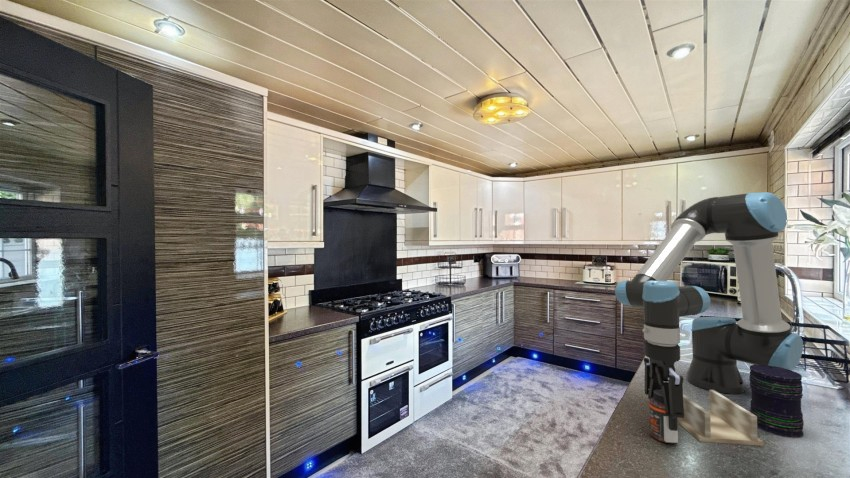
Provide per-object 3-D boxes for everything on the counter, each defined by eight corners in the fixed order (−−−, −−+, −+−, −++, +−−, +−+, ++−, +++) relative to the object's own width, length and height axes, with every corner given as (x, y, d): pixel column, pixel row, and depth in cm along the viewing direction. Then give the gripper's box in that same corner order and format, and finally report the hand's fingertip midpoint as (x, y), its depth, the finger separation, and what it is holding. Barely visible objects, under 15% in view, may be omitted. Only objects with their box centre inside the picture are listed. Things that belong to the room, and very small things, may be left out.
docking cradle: (665, 411, 99) (665, 387, 99) (719, 414, 97) (718, 390, 97) (699, 441, 84) (699, 413, 84) (763, 445, 82) (762, 416, 82)
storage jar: (811, 442, 83) (809, 381, 83) (756, 431, 88) (755, 373, 88) (795, 424, 91) (793, 368, 92) (745, 414, 96) (744, 362, 97)
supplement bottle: (643, 431, 88) (643, 388, 88) (665, 430, 89) (664, 387, 89) (661, 445, 82) (660, 398, 82) (684, 443, 83) (683, 397, 83)
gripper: (628, 332, 96) (630, 414, 95) (666, 353, 77) (668, 456, 77) (657, 332, 95) (659, 415, 94) (702, 355, 76) (705, 458, 76)
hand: (663, 433), depth 85 cm, fingers closed on supplement bottle, 6 cm apart
